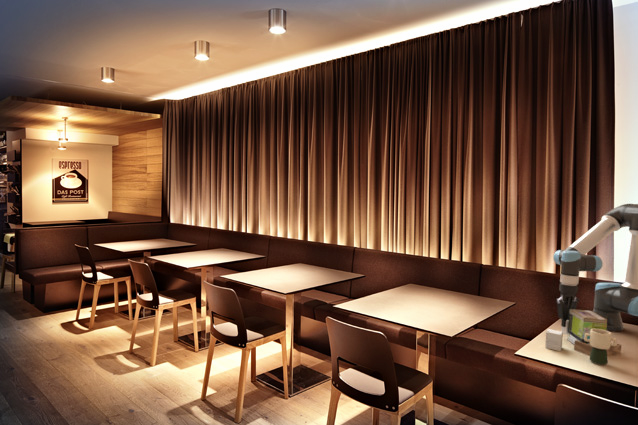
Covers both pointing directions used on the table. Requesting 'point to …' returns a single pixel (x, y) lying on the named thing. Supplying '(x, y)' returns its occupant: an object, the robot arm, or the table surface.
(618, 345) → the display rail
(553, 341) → the skincare box
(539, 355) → the table surface
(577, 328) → the tea box
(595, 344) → the character mug
